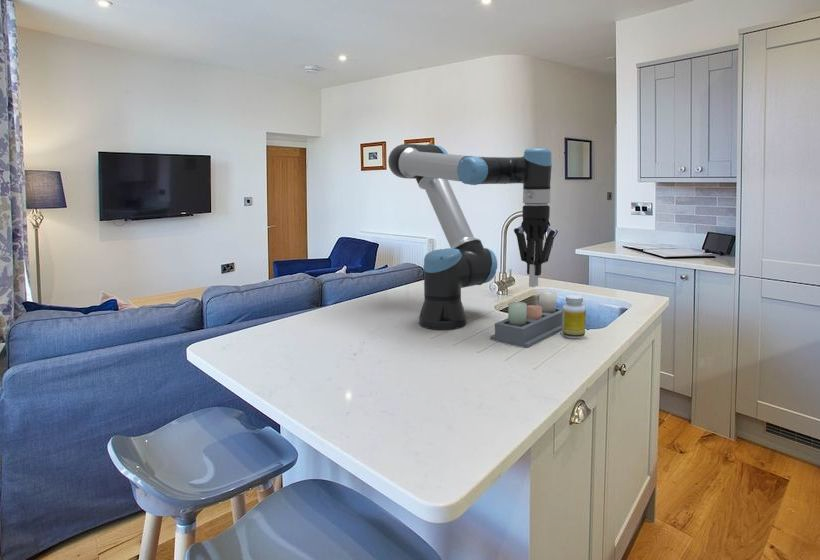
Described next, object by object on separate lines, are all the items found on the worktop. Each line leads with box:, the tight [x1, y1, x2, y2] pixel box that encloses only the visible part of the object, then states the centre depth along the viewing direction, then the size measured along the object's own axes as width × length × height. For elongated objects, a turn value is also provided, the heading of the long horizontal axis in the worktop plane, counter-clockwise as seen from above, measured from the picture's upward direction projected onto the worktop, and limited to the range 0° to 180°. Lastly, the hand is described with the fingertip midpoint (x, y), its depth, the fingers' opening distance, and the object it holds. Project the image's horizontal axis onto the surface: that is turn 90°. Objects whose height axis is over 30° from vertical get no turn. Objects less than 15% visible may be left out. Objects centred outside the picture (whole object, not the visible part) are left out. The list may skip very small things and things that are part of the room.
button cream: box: [538, 290, 557, 314], centre depth 155 cm, size 5×5×6 cm
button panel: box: [489, 307, 562, 349], centre depth 149 cm, size 12×27×5 cm, turn 138°
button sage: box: [507, 301, 528, 327], centre depth 142 cm, size 5×5×6 cm
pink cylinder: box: [526, 304, 542, 320], centre depth 149 cm, size 5×5×6 cm
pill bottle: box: [560, 294, 587, 340], centre depth 144 cm, size 6×6×12 cm
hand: (533, 285), depth 147 cm, fingers closed
